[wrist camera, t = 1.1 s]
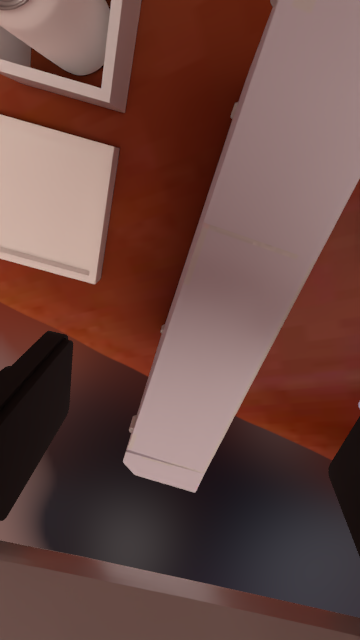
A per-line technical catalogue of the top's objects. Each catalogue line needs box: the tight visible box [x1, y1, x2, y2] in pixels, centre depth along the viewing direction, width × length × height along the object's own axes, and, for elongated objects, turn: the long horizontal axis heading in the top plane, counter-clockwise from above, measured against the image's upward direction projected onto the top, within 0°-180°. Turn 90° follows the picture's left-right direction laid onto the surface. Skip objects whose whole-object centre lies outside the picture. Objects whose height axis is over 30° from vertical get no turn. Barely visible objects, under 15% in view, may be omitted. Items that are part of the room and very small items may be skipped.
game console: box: [123, 0, 360, 492], centre depth 25 cm, size 6×27×20 cm, turn 163°
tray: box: [0, 114, 120, 284], centre depth 33 cm, size 14×14×2 cm
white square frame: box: [0, 0, 141, 113], centre depth 25 cm, size 10×10×5 cm
